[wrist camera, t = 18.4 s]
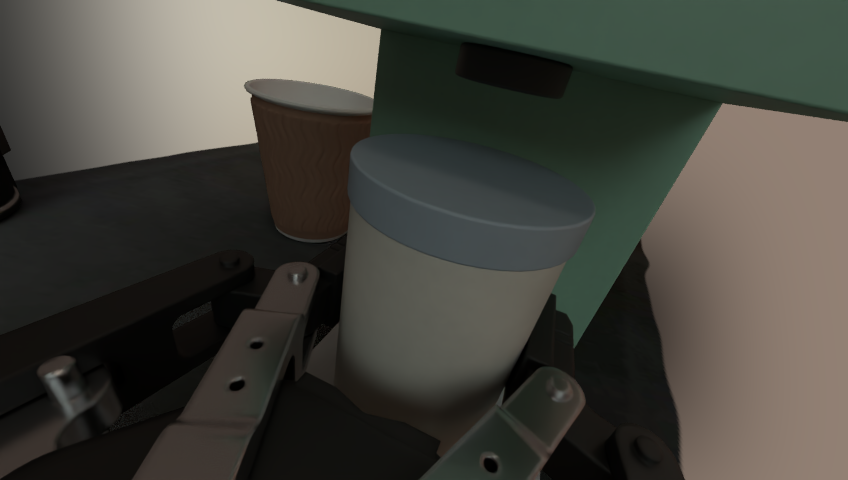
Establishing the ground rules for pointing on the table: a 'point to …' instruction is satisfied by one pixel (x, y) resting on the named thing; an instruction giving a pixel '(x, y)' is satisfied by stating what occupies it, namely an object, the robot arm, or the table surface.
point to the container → (446, 275)
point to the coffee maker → (629, 54)
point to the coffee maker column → (554, 145)
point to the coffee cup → (308, 153)
